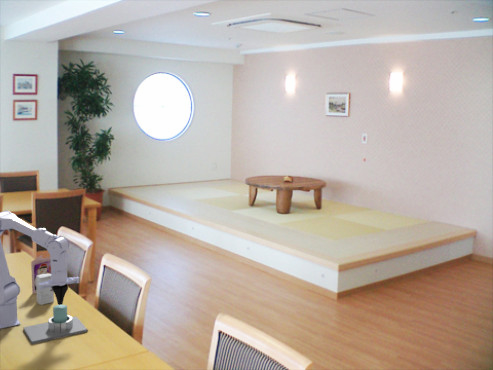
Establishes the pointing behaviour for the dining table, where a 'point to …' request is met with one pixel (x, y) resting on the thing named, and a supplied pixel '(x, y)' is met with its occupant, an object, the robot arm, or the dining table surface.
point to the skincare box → (44, 290)
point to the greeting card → (39, 269)
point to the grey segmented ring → (60, 325)
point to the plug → (60, 313)
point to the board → (44, 334)
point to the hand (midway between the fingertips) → (60, 303)
